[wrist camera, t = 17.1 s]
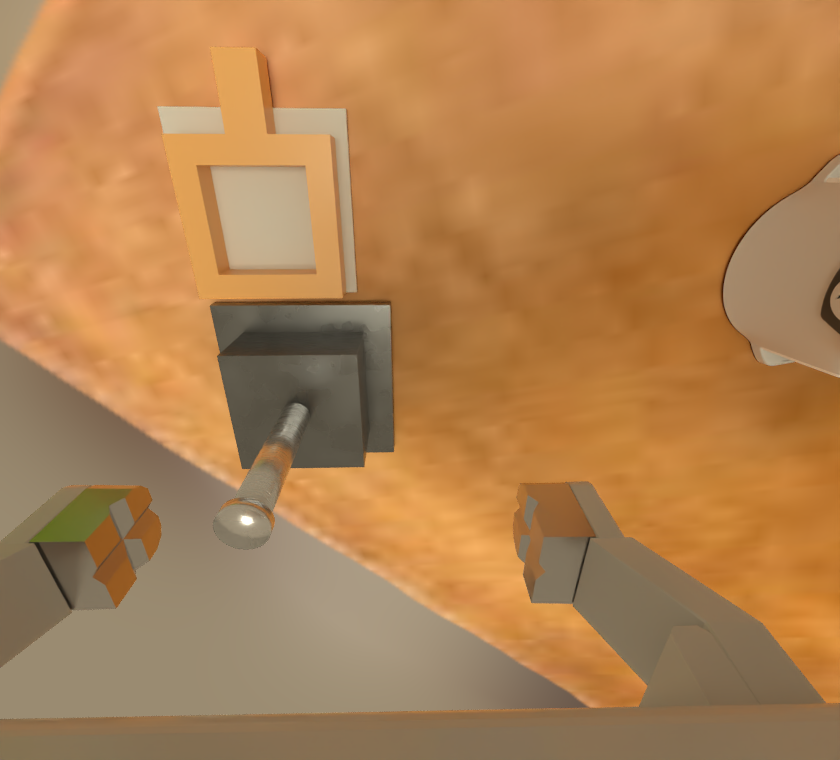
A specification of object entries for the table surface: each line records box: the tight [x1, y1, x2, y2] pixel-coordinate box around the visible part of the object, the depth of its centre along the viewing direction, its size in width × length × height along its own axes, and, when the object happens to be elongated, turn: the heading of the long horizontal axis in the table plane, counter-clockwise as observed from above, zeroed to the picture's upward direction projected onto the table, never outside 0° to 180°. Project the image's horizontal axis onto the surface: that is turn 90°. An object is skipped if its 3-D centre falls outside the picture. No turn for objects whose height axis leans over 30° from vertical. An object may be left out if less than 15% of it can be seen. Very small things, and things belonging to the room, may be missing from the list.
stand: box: [210, 302, 394, 550], centre depth 32 cm, size 16×16×20 cm
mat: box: [157, 106, 357, 292], centre depth 34 cm, size 14×14×1 cm
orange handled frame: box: [161, 47, 346, 299], centre depth 32 cm, size 12×17×2 cm
